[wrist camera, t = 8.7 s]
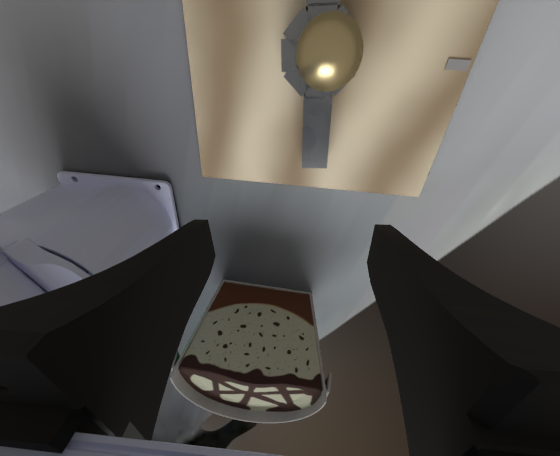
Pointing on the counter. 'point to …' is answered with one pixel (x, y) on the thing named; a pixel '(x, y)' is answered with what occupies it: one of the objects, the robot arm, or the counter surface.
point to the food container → (254, 356)
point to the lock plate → (331, 87)
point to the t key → (314, 101)
